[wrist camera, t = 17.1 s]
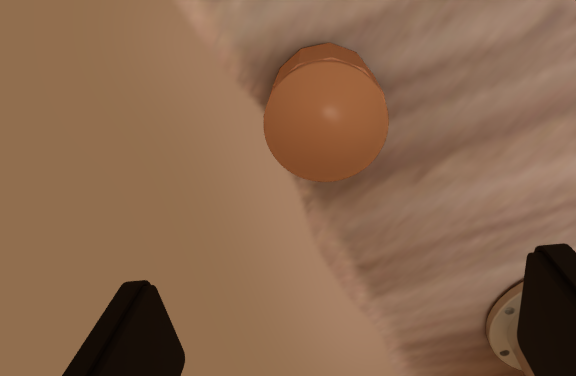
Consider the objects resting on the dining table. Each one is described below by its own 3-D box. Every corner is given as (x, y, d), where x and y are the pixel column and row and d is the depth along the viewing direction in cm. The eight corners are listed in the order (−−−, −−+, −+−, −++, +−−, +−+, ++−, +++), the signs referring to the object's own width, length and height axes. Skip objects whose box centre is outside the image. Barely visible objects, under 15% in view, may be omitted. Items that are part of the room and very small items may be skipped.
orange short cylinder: (379, 135, 28) (393, 172, 23) (285, 150, 29) (278, 189, 24) (369, 34, 25) (382, 50, 20) (263, 56, 26) (250, 77, 21)
